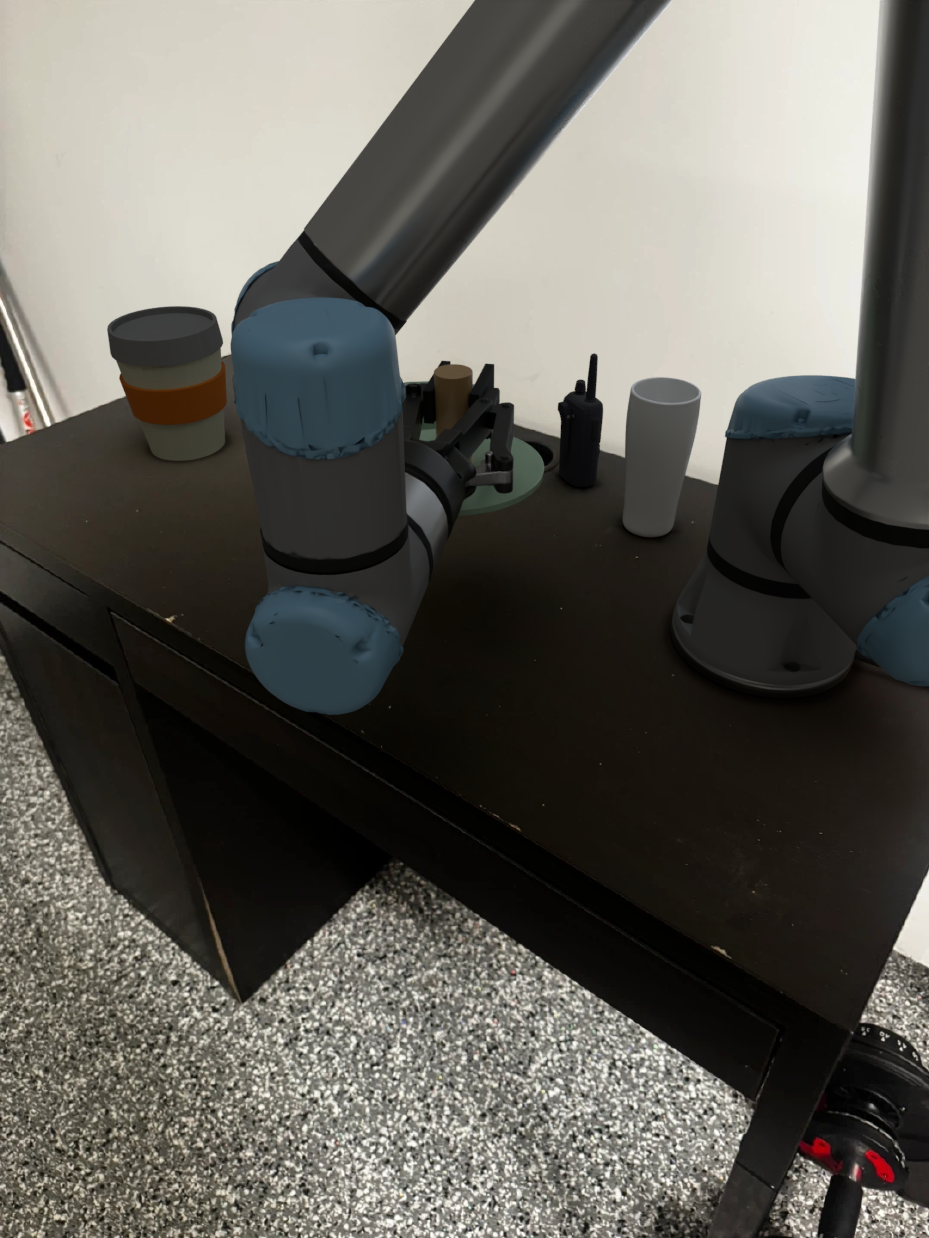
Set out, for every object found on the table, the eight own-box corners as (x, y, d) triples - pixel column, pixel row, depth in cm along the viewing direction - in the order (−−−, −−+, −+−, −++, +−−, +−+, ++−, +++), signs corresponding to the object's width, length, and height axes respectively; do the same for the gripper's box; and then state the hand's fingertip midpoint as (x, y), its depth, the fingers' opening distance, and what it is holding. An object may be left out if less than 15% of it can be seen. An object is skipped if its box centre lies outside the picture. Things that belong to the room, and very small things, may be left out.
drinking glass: (686, 543, 90) (709, 404, 81) (619, 544, 90) (635, 404, 81) (673, 510, 96) (694, 376, 87) (610, 510, 96) (624, 376, 87)
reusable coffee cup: (154, 422, 115) (127, 305, 106) (250, 423, 114) (231, 305, 105) (120, 467, 105) (86, 341, 96) (225, 468, 104) (201, 342, 95)
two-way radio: (602, 487, 100) (614, 356, 91) (567, 495, 98) (576, 363, 89) (577, 466, 104) (586, 340, 95) (543, 474, 102) (550, 346, 93)
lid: (579, 473, 74) (587, 367, 69) (461, 544, 65) (459, 428, 60) (450, 425, 82) (447, 326, 77) (329, 482, 73) (317, 375, 68)
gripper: (280, 555, 59) (378, 413, 78) (517, 580, 57) (561, 427, 75) (263, 453, 55) (372, 327, 73) (520, 475, 52) (566, 339, 71)
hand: (467, 378), depth 74 cm, fingers closed on lid, 3 cm apart
